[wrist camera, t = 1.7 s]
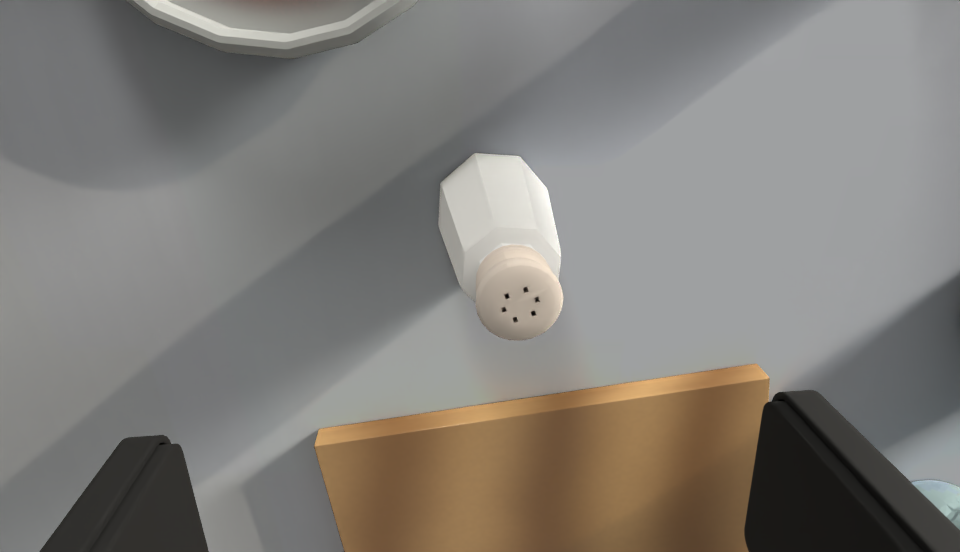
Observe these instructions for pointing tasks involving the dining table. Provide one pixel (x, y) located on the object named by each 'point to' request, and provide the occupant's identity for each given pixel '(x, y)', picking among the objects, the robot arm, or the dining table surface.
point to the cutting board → (556, 471)
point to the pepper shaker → (503, 244)
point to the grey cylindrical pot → (942, 497)
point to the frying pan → (273, 23)
